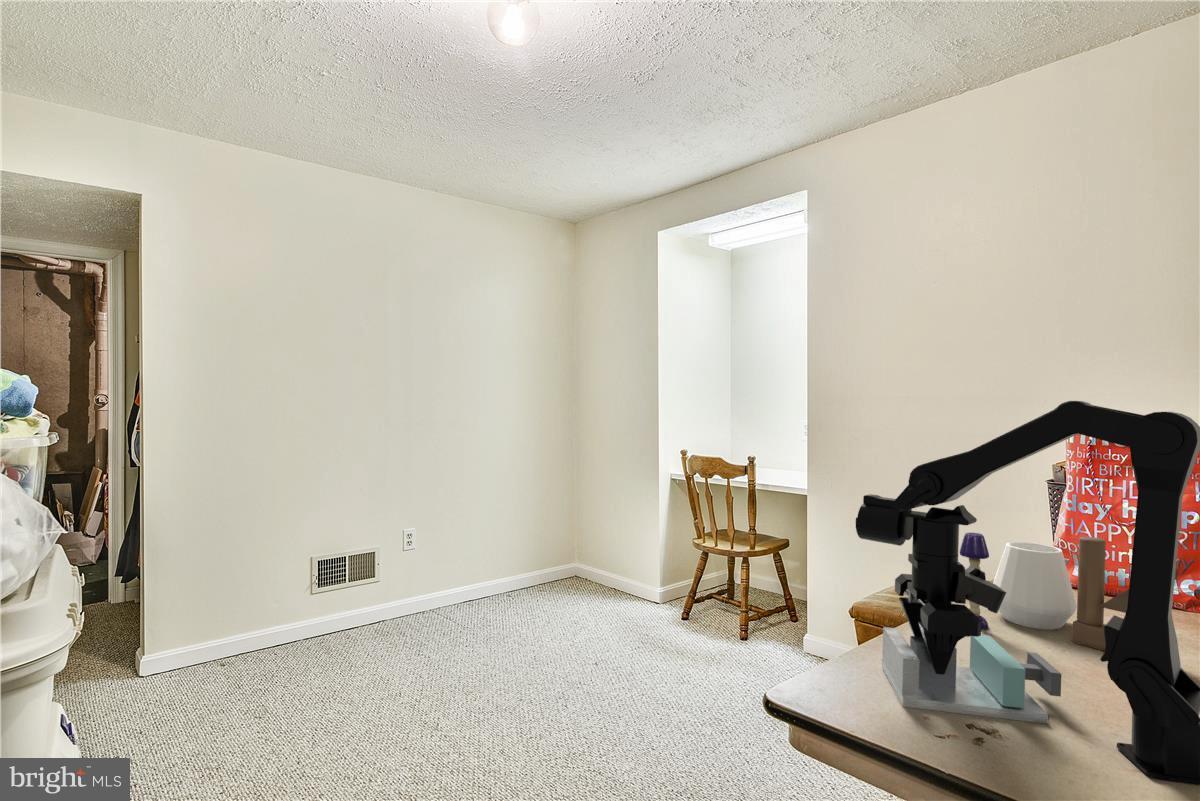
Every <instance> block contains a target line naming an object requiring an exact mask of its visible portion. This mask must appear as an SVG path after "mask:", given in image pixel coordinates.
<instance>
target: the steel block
mask: <svg viewBox="0 0 1200 801" xmlns="http://www.w3.org/2000/svg"><path fill="white" fill-rule="evenodd" d="M909 641H910V642H909V646H910V647H911V649H912V650H913V651H914V653H915V654H916V656H917V657H918V659H919V685H923V686H932V687H941V688H950V689H956V667H957V654H958V652H957V647H956V646H955V648H954V651H953V653H952V656H951V659H950V661H949V664H948V667H947V669H946V672H945V674H944V675H941V674H936V673H935V671H934V668H933V665H932V662H931V659H930V656H929V653H928V650H927V647H926V644H925V641H924V638H923V637H917V636H914V635H910V640H909Z"/></svg>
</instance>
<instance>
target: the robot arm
mask: <svg viewBox="0 0 1200 801" xmlns="http://www.w3.org/2000/svg"><path fill="white" fill-rule="evenodd" d="M1077 435H1080V436H1081V435H1082V436H1085V437H1089V438H1093V439H1095V440H1099V441H1100V440H1101V441H1104V442H1107V443H1112V444H1115V445H1119V446H1124V447H1128V448H1129V452H1130V460H1131V467H1132V470H1133V474H1134V479H1135V484H1136V488H1137V497H1136V498H1137V499H1136V500H1137V501H1136V510H1135V511H1136V512H1135V520H1134V533H1133V541H1132V542H1133V544H1132V555H1131V564H1130V574H1129V575H1130V577H1129V585H1128V586H1129V587H1128V589H1129V595H1128V605H1127V611H1126V613H1124V614H1125V615H1124V618H1123V617H1120V616H1117V615H1115V614H1114V615H1113V616H1112V617H1111V618H1110V619H1109V621H1107V623H1106V625H1105V626H1104V634H1105V643H1106V648H1105V651H1103V652H1104V653H1103V654H1102V656H1101V657H1100V659H1099V661H1101V662H1102V663H1104V662H1105V663H1106V662H1107V664H1106V665H1107V667H1106V668H1107V674H1108V676H1109V678H1110V680H1111V681H1112V682H1113V683H1114V684H1115V685H1116V686H1117V688H1118V689H1119V690H1121V692H1124V693H1125V696H1126V699H1127V701H1128V703H1129V707H1130V708H1131V711H1132V714H1131V743H1127V742H1126V743H1124V742H1117V743H1116V748H1117V749H1118V750H1119V751H1120V752H1121V753H1122V754H1123V755H1125V757H1127V758H1128V759H1129V760H1130V761H1131V762H1132V763H1134V765H1135V766H1137V767H1138V768H1139V769H1140V770H1141V771H1142V772H1143V773H1144V774H1145V775H1146V776H1148V777H1150V778H1153V779H1161V780H1170V781H1177V782H1184V783H1193V784H1200V685H1199V684H1198V683H1197V682H1196V681H1195V680H1194V679H1193V678H1192V677H1191V676H1190V675H1189V674H1188V673H1187V672H1186V671H1185V670H1184V669H1183V668H1182V667H1181V666H1182V664H1181V658H1180V651H1179V650H1180V649H1179V644H1178V636H1177V633H1176V628H1175V623H1174V619H1173V614H1172V612H1173V601H1174V593H1175V592H1174V590H1175V581H1176V580H1175V579H1176V570H1177V561H1178V560H1177V559H1178V550H1179V539H1180V528H1181V520H1182V518H1181V516H1182V508H1183V507H1182V506H1183V496H1184V494H1185V493H1184V492H1185V490H1186V488H1187V485H1188V483H1189V480H1190V478H1191V475H1192V472H1193V469H1194V467H1195V465H1196V461H1197V458H1198V455H1199V453H1200V425H1199V423H1197V421H1195V420H1193V419H1192V418H1191V417H1189V416H1188V415H1186V414H1183V413H1180V412H1174V411H1153V412H1151V413H1148V414H1145V415H1144V414H1140V413H1135V412H1129V411H1125V410H1119V409H1114V408H1108V407H1103V406H1100V405H1095V404H1094V405H1093V404H1091V403H1090V402H1086V401H1083V400H1068V401H1064V402H1062V403H1060V404H1059V405H1058V406H1057V407H1055V408H1054V409H1053V410H1051V411H1048V412H1046V413H1044V414H1042V415H1040V416H1038V417H1037V418H1034V419H1033V420H1030V421H1028V422H1026V423H1024V424H1021V425H1020V426H1017V427H1015V428H1013V429H1012V430H1009V431H1008V432H1006V433H1003V434H1001V435H999V436H997V437H995V438H994V439H991V440H988V441H987V442H985V443H983V444H981V445H978V446H976V447H975V448H973V449H971V450H968V451H965V452H961V453H957V454H955V455H951V456H947V457H942V458H940V459H936V460H933V461H928V462H926V463H922V464H919V465H917V466H916V467H914V468H912V470H911V471H910V473H909V477H908V484H907V486H906V487H905V488H904V489H903V491H902V492H901V493H900V494H899V495H898V496H897V497H896V498H892V497H891V498H890V497H884V496H882V495H881V496H880V495H879V494H872V493H870V494H865V495H863V500H862V501H863V502H862V503H861V505H860V508H859V509H858V512H857V517H856V518H855V530H856V534H857V536H858V537H859V538H860V539H861V540H867V541H871V542H878V543H883V544H889V545H894V546H903V545H904V544H905V542H906V541H910V540H911V539H912V547H911V549H912V551H911V552H912V553H907V554H908V556H907V561H908V562H909V563H910V564H911V573H909V574H908V573H901V574H899V575H898V576H897V577H896V578H895V579H894V592H895V593H896V594H897V595H898V596H899V598H898V599H899V602H900V605H901V607H902V609H903V612H904V615H905V617H906V619H907V621H908V624H909V626H910V630H911V632H912V634H913V635H912V636H917V637H923V638H924V641H925V644H926V647H927V650H928V653H929V656H930V659H931V662H932V665H933V668H934V671H935V673H936V674H941V675H944V674H945V672H946V669H947V667H948V664H949V661H950V659H951V656H952V653H953V651H954V648H955V647H956V646H957V644H958V642H959V641H960V640H963V639H964V638H966V637H969V638H971V636H976V637H978V636H981V635H982V629H981V620H980V619H979V618H978V617H977V616H976V615H975V614H974V613H973V612H972V611H971V610H969V607H967V605H966V603H967V602H966V600H967V601H968V602H969V601H971V602H973V603H976V604H978V605H980V606H981V607H983V608H986V609H987V611H989V612H991V613H994V614H998V612H999V608H1000V606H1001V604H1002V601H1003V599H1004V597H1005V595H1006V592H1005V591H1004V590H1002V589H1001V588H1000V587H998V586H997V585H995V584H993V582H992V581H991V580H986V573H985V571H983V570H981V568H980V569H978V568H975V567H973V566H970V567H969V566H968V567H967V568H966V567H965V566H964V564H962V563H961V562H959V544H960V543H959V540H960V537H959V536H960V526H970V525H972V524H975V523H976V522H977V521H978V519H977V518H976V517H975V516H974V515H973V514H972V513H971V512H969V511H968V509H967V508H966V507H965V505H963V504H961V505H958V506H955V507H954V508H953V509H951V508H950V509H949V508H943V507H934V506H937V505H940V504H945V503H949V502H953V501H955V500H958V499H959V498H960V497H962V496H964V495H966V493H968V492H970V491H971V490H972V489H974V488H975V487H976V486H978V485H980V484H981V482H983V481H984V480H985V479H986V478H988V477H989V476H991V475H992V474H995V473H996V472H998V471H1001V470H1002V469H1005V468H1007V467H1010V466H1011V465H1014V464H1016V463H1018V462H1020V461H1023V460H1025V459H1027V458H1029V457H1031V456H1034V455H1036V454H1038V453H1039V452H1042V451H1044V450H1047V449H1048V448H1051V447H1054V446H1055V445H1057V444H1059V443H1063V442H1065V441H1067V440H1068V439H1071V438H1073V437H1075V436H1077ZM924 506H933V507H930V508H929V509H928V510H927V512H925V511H919V510H917V511H916V510H913V509H916V508H920V507H924ZM903 596H904V597H903Z"/></svg>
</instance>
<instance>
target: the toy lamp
mask: <svg viewBox="0 0 1200 801" xmlns="http://www.w3.org/2000/svg"><path fill="white" fill-rule="evenodd" d="M986 542H987V541H986V539H985V537H984V535H983V534H982V533H980V532H966V533H964V535H963V539H962V542H961V545H960V549H959V555H960V556H961V557H964V558H968V563H969V566H968V567H970V566H973V567H975V568H978V569H980V570H981V566H980V564H981V560H986V559H989V557H990V554H989V549H988V545H987V543H986ZM968 604H969V607H968V609H969V610H971V611H972V612H973V613H974V614H975V615H976V616H977V617H978V618H979V619H980V620H981V630H986V629H988V628H989V624H988V621H987V619H985V617H984V616H982V615H981V609H980V606H981V605H978V604H976V603H973V602H971V601H969V600H968Z"/></svg>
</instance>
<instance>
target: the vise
mask: <svg viewBox="0 0 1200 801" xmlns="http://www.w3.org/2000/svg"><path fill="white" fill-rule="evenodd" d="M880 663H881V666H882V667H881V666H880V667H881V669H882V668H883V669H882V671H883V670H884V671H883V672H885V673H884V674H885V676H886V675H887V676H886V678H887V677H888V678H887V680H888V679H889V680H888V682H889V681H890V682H889V684H890V683H891V684H890V686H891V685H892V686H891V687H892V689H893V691H894V693H895V695H896V697H897V699H898V700H899V702H900V704H901V707H904V708H910V709H911V708H912V709H921V710H929V711H937V712H945V713H946V712H947V713H954V714H964V715H971V716H979V717H987V718H996V719H1006V720H1013V721H1021V722H1031V723H1039V724H1048V723H1049V713H1047V712H1046V711H1045V709H1044V708H1043V707H1041V706H1040V704H1039V703H1038V702H1036V700H1035V699H1033V697H1032V696H1031V695H1030V694H1029V693H1028V692H1027V691H1026V690H1025V698H1024V708H1018V707H1009V706H1002V705H1001V703H1000V702H999V701H998V700H997V699H996V698H995V697H994V695H993V694H992V693H991V692H990V691H989V690H988V688H987V687H986V686H985V685H984V684H983V683H982V681H981V680H980V679H979V678H978V677H977V676H976V675H975V673H974V672H973V671H972V670H971V669H970V667H965V666H963V667H962V666H956V689H950V688H941V687H932V686H923V685H919V659H918V657H917V656H916V654H915V653H914V651H913V650H912V649H911V647H910V643H908V642H907V640H906V639H905V637H904V636H903V634H902V633H901V631H900V630H899V628H896V627H886V626H883V627H882V658H881V662H880Z"/></svg>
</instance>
